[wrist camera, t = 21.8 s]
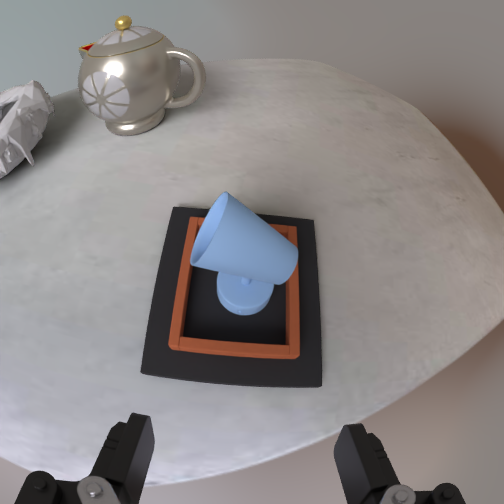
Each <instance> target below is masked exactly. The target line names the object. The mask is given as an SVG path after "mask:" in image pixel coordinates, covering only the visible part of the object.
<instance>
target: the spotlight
mask: <svg viewBox="0 0 504 504" xmlns="http://www.w3.org/2000/svg"><path fill="white" fill-rule="evenodd" d="M297 261H298V249H297V247H296V246H295V245H293V244H292V243H291V242H290V241H289V240H287V239H286V238H285V237H284V236H282V235H281V234H280V233H279V232H277V231H276V230H275V229H274V228H272V227H271V226H270V225H269V224H267V223H266V222H265V221H264V220H262V219H261V218H260V217H258V216H257V215H256V214H255V213H253V212H252V211H251V210H250V209H248V208H247V207H246V206H244V205H243V204H242V203H241V202H239V201H238V200H237V199H235V198H234V197H233V196H232V195H230V194H229V193H228V192H224V193H222V194H221V195H220V196H219V197H218V199H217V200H216V201H215V203H214V204H213V206H212V207H211V209H210V211H209V212H208V214H207V216H206V218H205V220H204V222H203V224H202V226H201V228H200V230H199V232H198V235H197V237H196V240H195V243H194V246H193V249H192V253H191V258H190V264H191V265H192V266H196V267H200V268H205V269H209V270H213V271H218V272H219V273H218V276H217V295H218V298H219V300H220V302H221V304H222V305H223V306H224V307H225V308H226V309H227V310H229V311H230V312H232V313H235V314H238V315H252V314H255V313H257V312H259V311H261V310H262V309H263V308H264V307H265V306H266V305H267V303H268V302H269V299H270V297H271V294H272V292H273V288H274V284H277V285H280V284H283V283H284V282H285V281H287V280H288V279H289V277H290V276H291V275H292V273H293V271H294V269H295V267H296V264H297Z"/></svg>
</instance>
